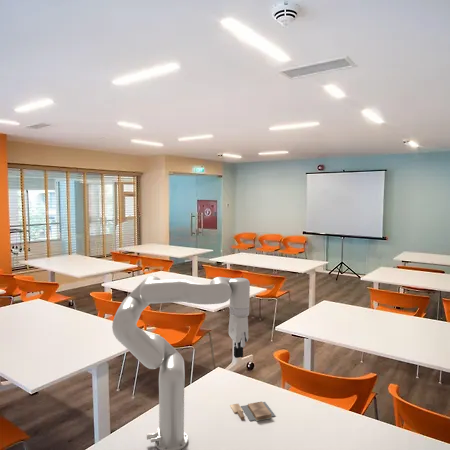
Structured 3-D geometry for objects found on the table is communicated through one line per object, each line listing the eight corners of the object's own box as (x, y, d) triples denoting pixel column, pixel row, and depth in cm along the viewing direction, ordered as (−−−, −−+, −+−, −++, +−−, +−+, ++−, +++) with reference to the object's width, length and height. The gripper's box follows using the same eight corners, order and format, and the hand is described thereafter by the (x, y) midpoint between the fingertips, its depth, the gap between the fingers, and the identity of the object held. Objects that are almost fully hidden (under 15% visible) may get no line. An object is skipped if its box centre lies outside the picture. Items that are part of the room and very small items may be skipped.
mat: (249, 421, 153) (250, 420, 153) (240, 406, 163) (240, 406, 163) (275, 416, 157) (275, 415, 157) (265, 402, 167) (265, 401, 167)
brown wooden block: (256, 416, 153) (247, 403, 162) (256, 421, 153) (247, 407, 162) (271, 414, 155) (262, 401, 164) (271, 418, 155) (261, 405, 164)
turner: (238, 420, 153) (238, 417, 153) (230, 406, 164) (230, 403, 164) (247, 418, 155) (247, 415, 155) (238, 404, 165) (238, 402, 165)
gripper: (224, 305, 144) (223, 349, 146) (236, 317, 130) (235, 366, 132) (241, 304, 147) (240, 347, 148) (256, 315, 132) (254, 364, 134)
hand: (238, 356), depth 140 cm, fingers closed
